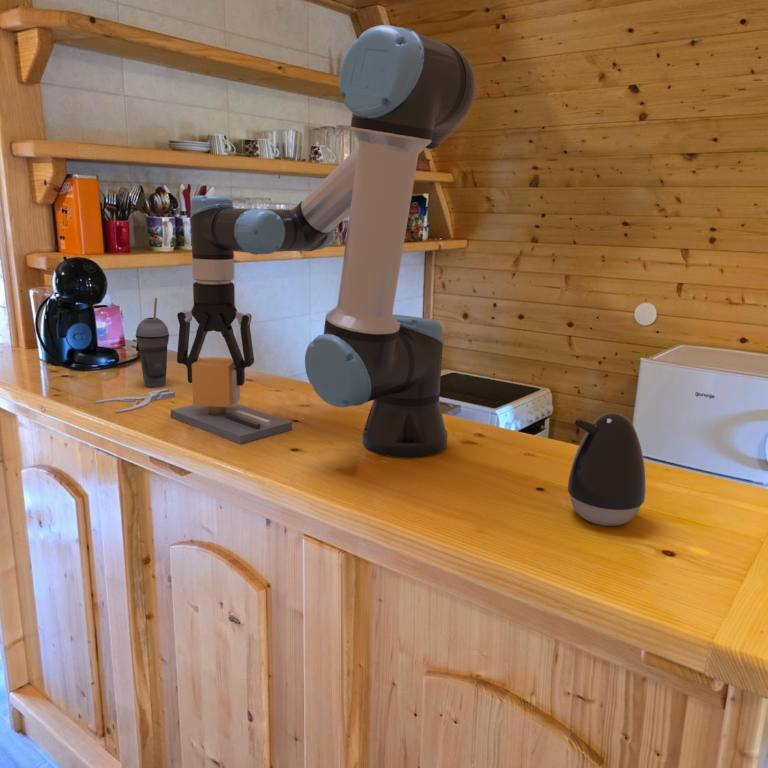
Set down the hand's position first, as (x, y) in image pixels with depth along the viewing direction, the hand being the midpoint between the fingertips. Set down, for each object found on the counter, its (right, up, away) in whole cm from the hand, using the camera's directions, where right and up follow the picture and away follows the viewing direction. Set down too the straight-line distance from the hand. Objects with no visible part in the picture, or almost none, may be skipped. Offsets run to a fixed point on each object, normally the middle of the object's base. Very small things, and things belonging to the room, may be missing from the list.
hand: (216, 400), depth 134 cm
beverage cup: (-20, +3, +24) cm, 32 cm away
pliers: (-19, -1, +11) cm, 22 cm away
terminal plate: (+3, -4, -2) cm, 6 cm away
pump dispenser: (+63, -16, -38) cm, 75 cm away
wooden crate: (0, 0, 0) cm, 0 cm away
